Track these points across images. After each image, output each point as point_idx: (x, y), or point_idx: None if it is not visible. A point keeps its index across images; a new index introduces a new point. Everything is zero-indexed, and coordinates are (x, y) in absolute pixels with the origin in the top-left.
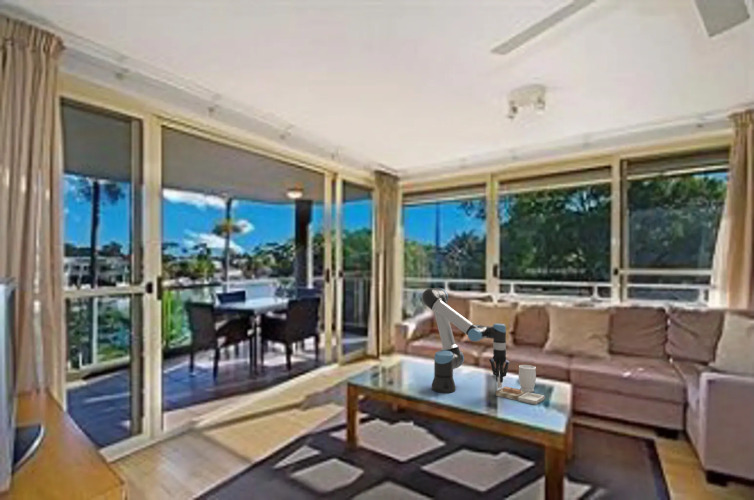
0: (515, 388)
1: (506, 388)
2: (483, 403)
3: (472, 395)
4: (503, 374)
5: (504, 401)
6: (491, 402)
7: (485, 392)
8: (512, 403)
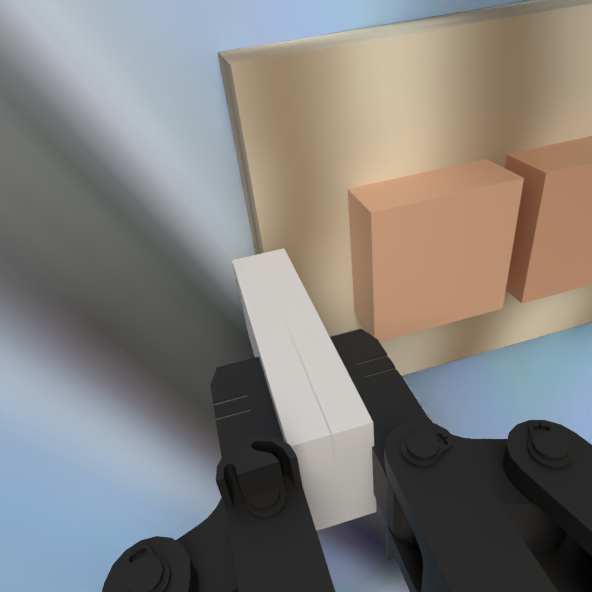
0: (579, 171)
1: (441, 313)
2: (339, 570)
3: (102, 556)
4: (558, 581)
5: (455, 419)
6: (375, 518)
7: (81, 383)
8: (536, 398)
